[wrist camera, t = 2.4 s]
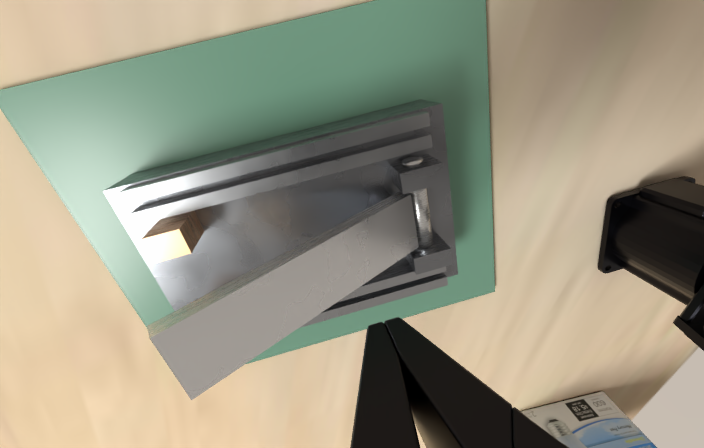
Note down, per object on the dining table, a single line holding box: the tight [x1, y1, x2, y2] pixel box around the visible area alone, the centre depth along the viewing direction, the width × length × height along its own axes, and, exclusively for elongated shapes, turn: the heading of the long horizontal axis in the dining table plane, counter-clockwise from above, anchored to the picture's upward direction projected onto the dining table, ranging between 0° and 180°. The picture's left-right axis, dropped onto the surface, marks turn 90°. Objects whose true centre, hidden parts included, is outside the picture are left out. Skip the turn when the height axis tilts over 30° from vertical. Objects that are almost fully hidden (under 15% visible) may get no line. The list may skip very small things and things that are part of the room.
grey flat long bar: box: [147, 192, 419, 400], centre depth 14 cm, size 3×12×1 cm, turn 103°
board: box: [0, 0, 495, 364], centre depth 20 cm, size 20×24×1 cm
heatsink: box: [103, 99, 458, 328], centre depth 17 cm, size 10×16×5 cm, turn 103°
